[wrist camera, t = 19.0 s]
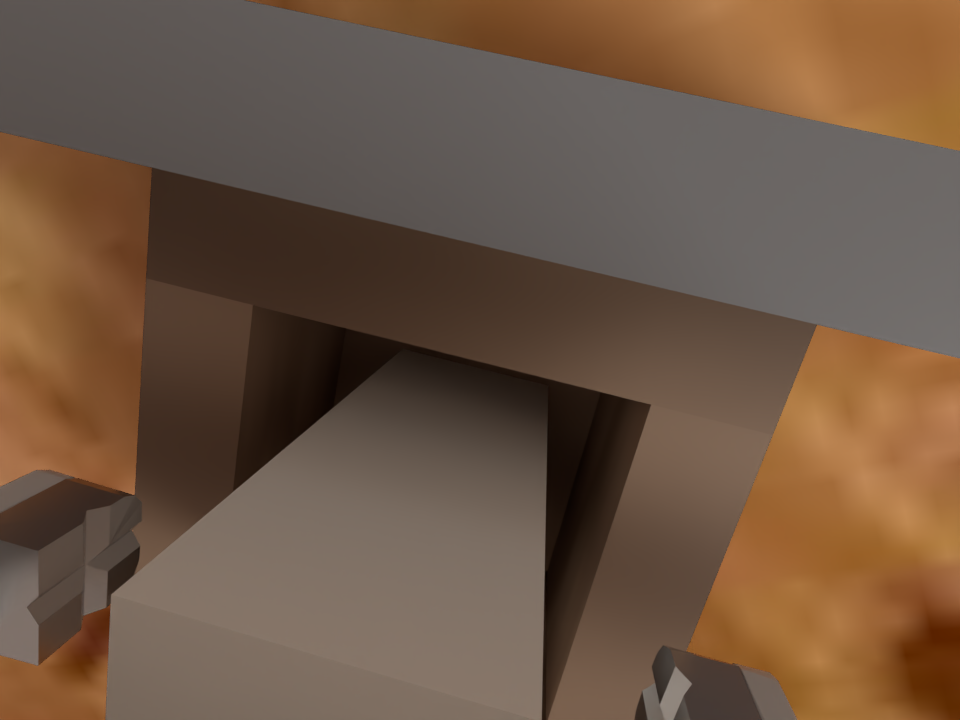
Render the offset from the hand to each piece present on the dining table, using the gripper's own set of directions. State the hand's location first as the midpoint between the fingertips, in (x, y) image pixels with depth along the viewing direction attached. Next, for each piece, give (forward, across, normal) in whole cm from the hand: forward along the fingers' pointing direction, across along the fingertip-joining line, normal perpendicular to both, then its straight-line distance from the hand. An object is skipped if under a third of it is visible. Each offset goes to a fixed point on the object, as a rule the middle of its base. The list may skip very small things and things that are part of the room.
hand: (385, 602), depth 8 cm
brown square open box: (+8, 0, 0) cm, 8 cm away
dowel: (+7, 0, 0) cm, 7 cm away
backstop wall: (+8, 0, -6) cm, 10 cm away
